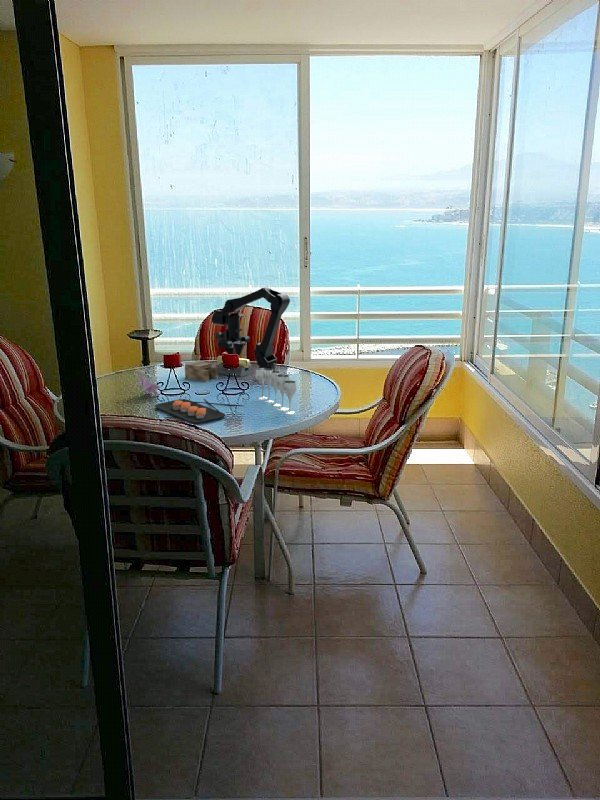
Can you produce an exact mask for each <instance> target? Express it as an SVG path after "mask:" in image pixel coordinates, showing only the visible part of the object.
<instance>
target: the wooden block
mask: <svg viewBox="0 0 600 800" xmlns="http://www.w3.org/2000/svg"><path fill="white" fill-rule="evenodd" d="M218 375H219V374H217V367H216V366H213V363H211V362H206V361H205V362H204V361H198V360H194V361H192V362H188V363H184V378H185V379H186V378H187V380H192V381H193V380H194V381H199V382H205V383H208V382H209V381H210V379H214V380H215V379H219V377H218Z"/></svg>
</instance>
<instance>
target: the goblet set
mask: <svg viewBox="0 0 600 800" xmlns="http://www.w3.org/2000/svg"><path fill="white" fill-rule="evenodd" d="M254 374H255V376H254V377H255V379H256V381H258V382H259V384H260V385H261V395H260V396H257V397H256V399H257V398H258V399H257V400H264V403H266V402H268V404H269V403H270V406H271V407H276V410H278V411H282V410H283V414H285V415H295V414H296V413H295V412H296V411H293V410H291V403H292V398H293V397H294V395H295V393H296V391H297V382H296V381H295V380H290V375H289V374H286V373H281V371H278V370H275V371H273V369H268V368H259V367H258V368H256V370H255V373H254ZM265 384H266V385H267V390H268V391H267V392H268V396H265V395H264V386H265ZM271 386H272V387H273V390H274V395H275V396H274V397H275V398H274V399H275V400H272V399H270V398H269V396H270V392H271V391H270V390H271V389H270V388H271ZM278 391H279V393H280V394H281V404H280V403H277V392H278ZM285 395H286V397H287V398H288V403H289V405H288V406H289V407H287V406H284V396H285ZM267 398H268V399H267ZM271 402H272V403H271ZM294 413H295V414H294Z"/></svg>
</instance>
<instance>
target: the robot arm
mask: <svg viewBox="0 0 600 800" xmlns="http://www.w3.org/2000/svg"><path fill="white" fill-rule="evenodd" d="M262 299H264V300H265V301H267V302H268V303H270V306H269V307H270V316H269V319H268V321H267V324H266V328H265V331H264V335H263V337H262V341H261V342H259V343H256V344H255V349H254V350H253V353H254V355H253V357H254V358H255V360H256V363H257V366H259V367H258V368H268V369H273V371H276V370H275V369H276V364H277V362H278V358H277V357H276V356H275V354H274V345H273V343H274V339H275V337H276V333H277V331H278V328H279V324H280V322H281V318H282V317H283V316H282V315H283V314H284V313H285V311H286V310H287V309H288V307H289V305H290V303H291V299H290V297H289V295H288V294H287V293H282V292H280V291H277V290H274V289H272V288H270V287H269V286H265V287H260V289H258V290H255V291H253V292H250V293H248V294H246V295H243V296H240V297H237V298H236V297H235V298H230V299H227V300H225V303H224V306H223V308H222V309H221V310H219V309H215V310H214V311H213V314H212V316H211V322H212V324H213V325H215V326H223V327H225V326H226V327H227V328H225V329H224V331H223V332H222V331H218V332H217V331H216V332H215V333H214V334H215V335H214V336H215V337H214V339H216V340H217V348H222V349H224V350H225V352H226V354H227V353H228V354H234V355H236V354H238V355H239V358H240V357H241V354H242V352H243V350H244V348H245V346H246V345H247V343H250V342H251V338H250V336H249V335H243V334H241V332H242V331H243V329H242V328H241V322H240V321H241V319H240V318H244V317H245V316H244V314H243V313H242V312H241V311H240V310H242V309H243V308H245V307H246V306H248V305H249V304H251V303H253V302H256V301H259V300H262ZM244 342H245V343H244ZM228 354H227V355H228Z"/></svg>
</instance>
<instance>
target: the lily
mask: <svg viewBox="0 0 600 800" xmlns="http://www.w3.org/2000/svg"><path fill="white" fill-rule="evenodd" d="M134 374H135V375H136V377H137V378H138V380H139V381H137V382H135V384H136V385H138V386H140V387H142V389H143V390H142V393H141V394H140V400H142V396H143V394H144V392H145V391H146V392H147V393H148V394H151V393H153V394H155V395H156V396H158V397H160V395H159V393H158V392H157V391H156V390H160V389H162V387H161V386H160V385H158V384H156V383H154V382H151V381H150V379H149V378H148V377H145V378H144V377H143V376H141V374H138V373H136V372H135V373H134Z"/></svg>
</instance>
